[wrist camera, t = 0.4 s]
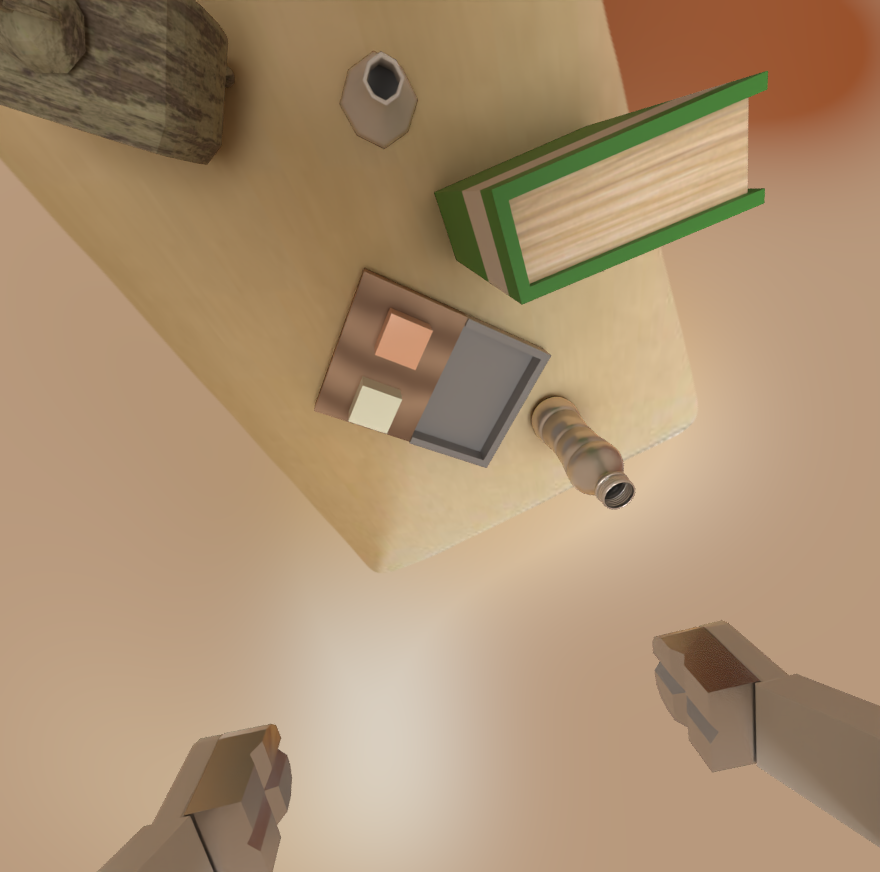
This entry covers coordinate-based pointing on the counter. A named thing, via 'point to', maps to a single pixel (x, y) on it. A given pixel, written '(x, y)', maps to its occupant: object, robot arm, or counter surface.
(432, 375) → the walnut board
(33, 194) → the counter surface
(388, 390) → the cream block
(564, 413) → the plastic bottle
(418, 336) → the orange square block
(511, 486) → the counter surface
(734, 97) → the hardback book
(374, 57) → the flask
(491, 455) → the tray
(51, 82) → the tabletop clock
